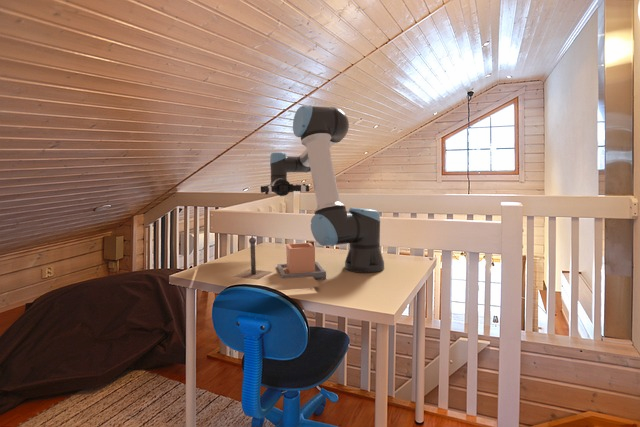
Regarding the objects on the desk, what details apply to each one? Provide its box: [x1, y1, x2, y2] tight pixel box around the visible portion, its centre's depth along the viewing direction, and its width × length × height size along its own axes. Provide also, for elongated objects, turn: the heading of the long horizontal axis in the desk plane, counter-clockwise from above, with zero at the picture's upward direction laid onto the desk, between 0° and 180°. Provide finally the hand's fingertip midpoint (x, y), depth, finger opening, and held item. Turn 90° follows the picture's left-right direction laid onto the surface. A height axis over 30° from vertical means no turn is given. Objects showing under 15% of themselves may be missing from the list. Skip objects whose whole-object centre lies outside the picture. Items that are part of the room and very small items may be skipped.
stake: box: [233, 237, 273, 280], centre depth 141 cm, size 10×10×15 cm
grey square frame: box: [276, 261, 327, 281], centre depth 145 cm, size 15×15×2 cm
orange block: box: [286, 242, 316, 274], centre depth 145 cm, size 9×9×10 cm
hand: (287, 190), depth 157 cm, fingers open, 13 cm apart
